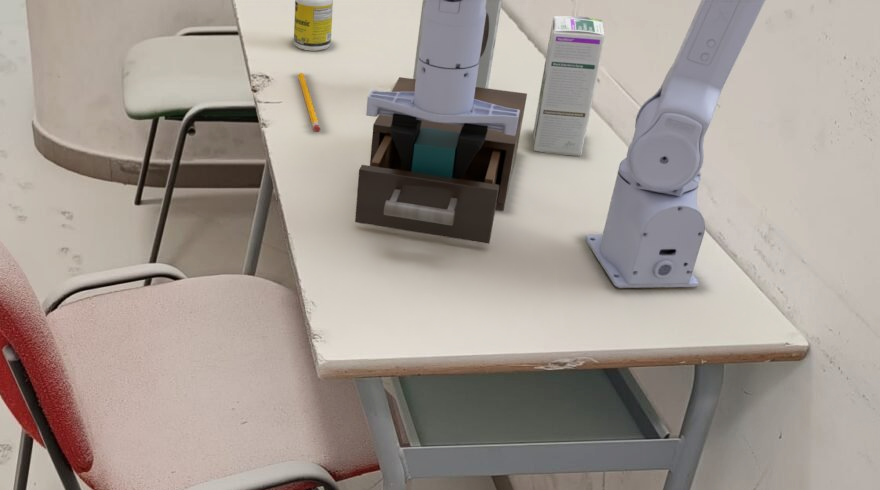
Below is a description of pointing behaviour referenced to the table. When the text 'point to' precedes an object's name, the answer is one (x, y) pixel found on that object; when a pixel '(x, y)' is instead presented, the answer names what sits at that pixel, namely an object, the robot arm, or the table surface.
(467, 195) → the drawer
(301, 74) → the pencil
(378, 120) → the cabinet
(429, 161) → the teal rectangular block
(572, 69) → the syrup box
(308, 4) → the supplement bottle
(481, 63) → the supplement box
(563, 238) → the table surface
